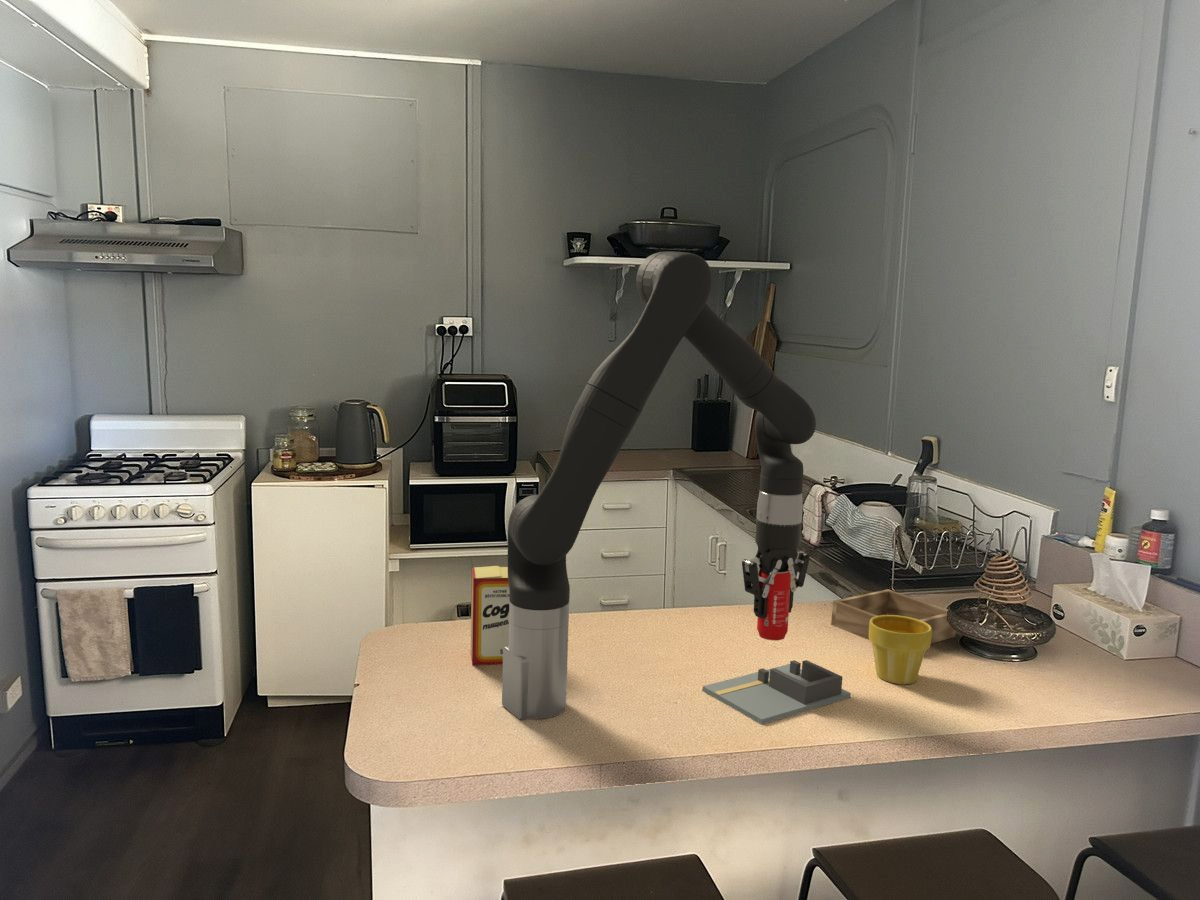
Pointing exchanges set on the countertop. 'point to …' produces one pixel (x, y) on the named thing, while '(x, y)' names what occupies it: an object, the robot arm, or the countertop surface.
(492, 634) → the baking soda box
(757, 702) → the board
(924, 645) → the plant pot
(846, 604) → the wooden tray
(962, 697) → the countertop surface
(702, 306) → the robot arm
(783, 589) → the beverage can
